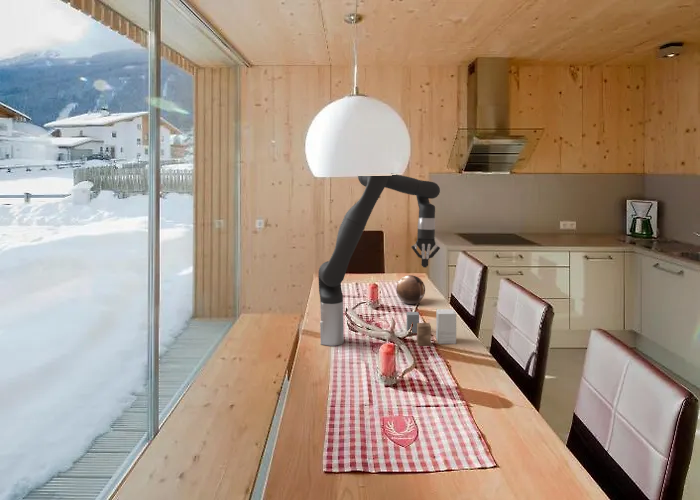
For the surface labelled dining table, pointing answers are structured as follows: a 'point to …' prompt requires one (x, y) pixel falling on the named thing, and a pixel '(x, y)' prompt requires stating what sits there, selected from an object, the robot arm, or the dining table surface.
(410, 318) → the grey block
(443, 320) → the supplement box
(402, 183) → the robot arm
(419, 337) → the walnut block
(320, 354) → the dining table surface
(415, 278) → the wooden sphere
